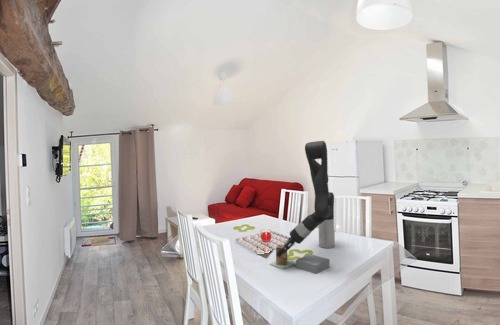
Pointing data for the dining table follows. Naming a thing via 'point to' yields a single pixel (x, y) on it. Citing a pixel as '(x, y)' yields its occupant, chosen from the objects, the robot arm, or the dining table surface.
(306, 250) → the dining table surface
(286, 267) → the mat
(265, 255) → the wooden fragment
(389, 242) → the dining table surface
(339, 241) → the dining table surface
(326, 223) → the robot arm
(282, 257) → the walnut block
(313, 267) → the gray square slab
